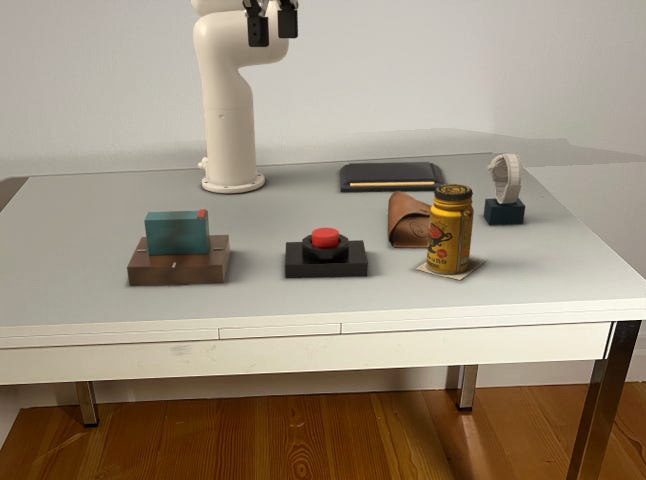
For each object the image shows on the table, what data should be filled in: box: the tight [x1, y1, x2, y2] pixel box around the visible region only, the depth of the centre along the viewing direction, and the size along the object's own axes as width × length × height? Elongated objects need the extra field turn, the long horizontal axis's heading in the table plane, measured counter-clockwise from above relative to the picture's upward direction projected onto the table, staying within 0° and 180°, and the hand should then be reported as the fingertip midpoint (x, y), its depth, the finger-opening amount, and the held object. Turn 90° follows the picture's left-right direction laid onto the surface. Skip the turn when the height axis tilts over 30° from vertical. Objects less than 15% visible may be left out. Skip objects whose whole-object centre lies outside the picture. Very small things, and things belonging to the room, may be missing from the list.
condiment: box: [414, 183, 487, 281], centre depth 109 cm, size 7×8×12 cm
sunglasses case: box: [387, 191, 433, 249], centre depth 126 cm, size 18×7×7 cm
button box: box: [284, 233, 369, 279], centre depth 114 cm, size 12×9×4 cm
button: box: [311, 227, 340, 247], centre depth 112 cm, size 4×4×2 cm
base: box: [126, 234, 231, 287], centre depth 115 cm, size 14×13×3 cm
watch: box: [483, 153, 526, 226], centre depth 125 cm, size 6×8×11 cm
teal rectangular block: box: [143, 208, 211, 255], centre depth 113 cm, size 9×4×6 cm, turn 87°
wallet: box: [339, 161, 445, 193], centre depth 149 cm, size 20×2×15 cm
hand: (274, 42), depth 114 cm, fingers open, 9 cm apart
